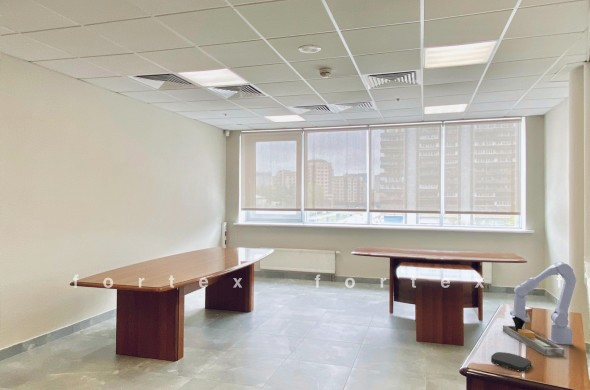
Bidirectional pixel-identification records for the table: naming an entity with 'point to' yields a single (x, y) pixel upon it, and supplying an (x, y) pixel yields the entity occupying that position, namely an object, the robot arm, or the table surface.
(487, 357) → the table surface
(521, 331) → the orange block
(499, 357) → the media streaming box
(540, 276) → the robot arm
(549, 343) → the trap lane
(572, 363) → the table surface
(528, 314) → the small box
